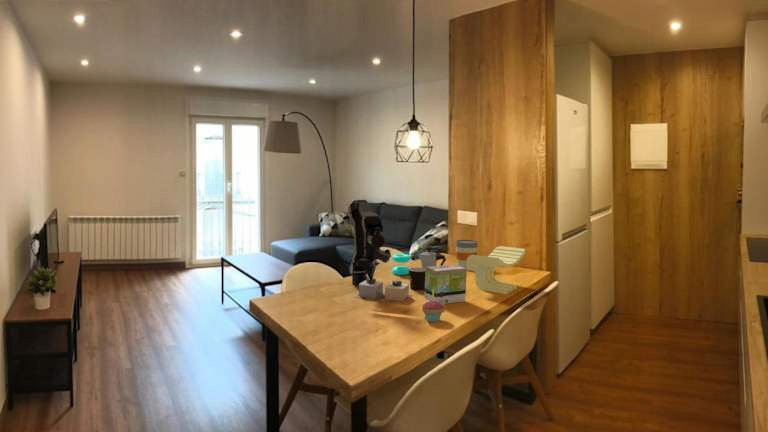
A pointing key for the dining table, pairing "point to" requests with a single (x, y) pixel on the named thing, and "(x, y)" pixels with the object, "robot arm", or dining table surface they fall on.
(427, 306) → the cupcake
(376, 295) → the grey block
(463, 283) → the tea box
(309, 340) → the dining table surface
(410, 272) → the coffee mug
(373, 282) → the inner press plunger
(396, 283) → the outer press plunger
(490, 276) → the slatted curved stool
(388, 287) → the block
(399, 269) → the donuts
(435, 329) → the dining table surface
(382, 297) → the serving board
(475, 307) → the dining table surface
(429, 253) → the coffee maker
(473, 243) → the reusable coffee cup
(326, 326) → the dining table surface
